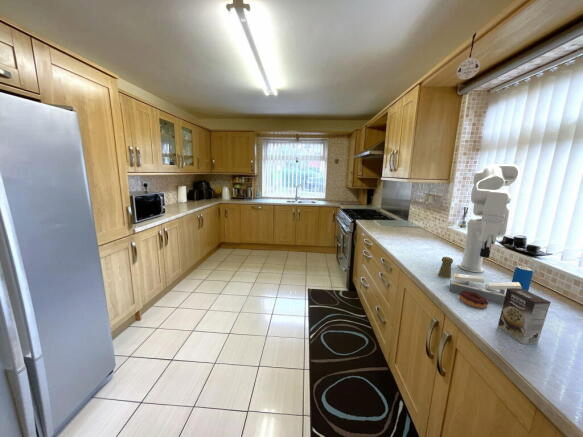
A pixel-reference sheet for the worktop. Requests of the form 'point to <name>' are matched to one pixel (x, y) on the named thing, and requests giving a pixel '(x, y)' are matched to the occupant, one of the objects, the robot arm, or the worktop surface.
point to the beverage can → (523, 276)
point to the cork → (446, 267)
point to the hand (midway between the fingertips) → (484, 256)
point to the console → (478, 290)
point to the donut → (473, 299)
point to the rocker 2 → (503, 285)
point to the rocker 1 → (469, 278)
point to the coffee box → (523, 315)
